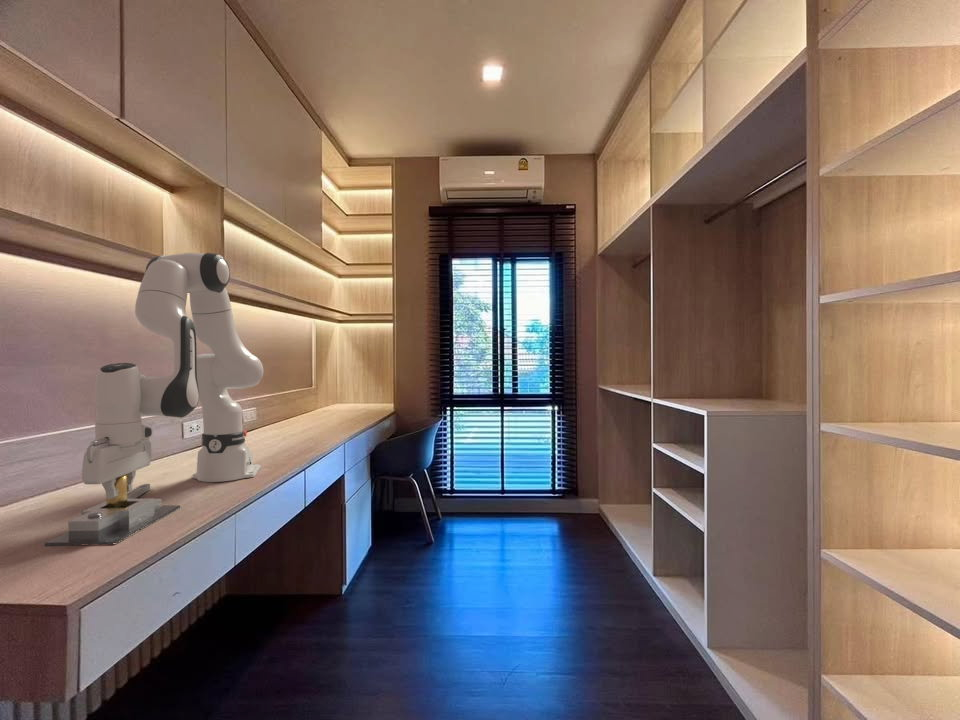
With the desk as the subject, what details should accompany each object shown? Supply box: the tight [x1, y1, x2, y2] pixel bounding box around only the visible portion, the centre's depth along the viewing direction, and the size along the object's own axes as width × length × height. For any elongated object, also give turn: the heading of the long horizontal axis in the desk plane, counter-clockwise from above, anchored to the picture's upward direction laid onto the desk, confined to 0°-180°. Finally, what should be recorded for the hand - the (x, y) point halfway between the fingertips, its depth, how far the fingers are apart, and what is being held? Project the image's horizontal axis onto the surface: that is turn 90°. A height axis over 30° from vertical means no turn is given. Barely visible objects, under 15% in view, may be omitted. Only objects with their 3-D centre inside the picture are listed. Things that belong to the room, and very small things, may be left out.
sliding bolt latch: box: [44, 497, 181, 547], centre depth 123 cm, size 26×14×5 cm, turn 3°
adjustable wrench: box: [127, 483, 151, 499], centre depth 142 cm, size 25×6×2 cm, turn 11°
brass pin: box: [105, 474, 128, 508], centre depth 122 cm, size 4×4×10 cm
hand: (119, 494), depth 123 cm, fingers closed on brass pin, 4 cm apart
